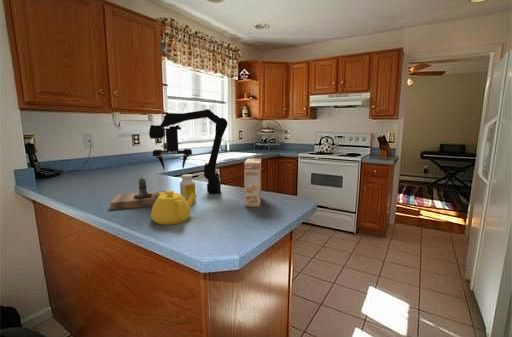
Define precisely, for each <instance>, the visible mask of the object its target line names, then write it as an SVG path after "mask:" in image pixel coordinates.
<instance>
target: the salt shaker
mask: <svg viewBox="0 0 512 337" xmlns="http://www.w3.org/2000/svg"><path fill="white" fill-rule="evenodd" d="M147 187H148V186H147V181H146V179H145V178H144V177H141V179H138V189H139V192H138V193H139V194H138V195H137V198H138V199H140V198H149V197H150V194H149V193H147V192H148V191H147Z"/></svg>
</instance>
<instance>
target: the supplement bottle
mask: <svg viewBox="0 0 512 337" xmlns="http://www.w3.org/2000/svg"><path fill="white" fill-rule="evenodd" d="M181 179H182V180H181V181H180V182H179V188H180V194H181V195H182V196H183V197H184V198H185V200H186V201H187V200H188V199H189V197H190V196H191V194H192V193H193V194H195V195H196V182H195V181H194V180H193V174H189V173H187V174H186V173H185V174H181ZM196 201H197V197H196V198H195V200H194V202H193V203H192V204H194V203H196Z"/></svg>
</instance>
